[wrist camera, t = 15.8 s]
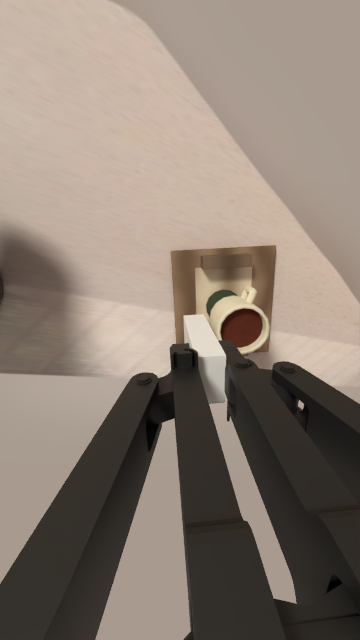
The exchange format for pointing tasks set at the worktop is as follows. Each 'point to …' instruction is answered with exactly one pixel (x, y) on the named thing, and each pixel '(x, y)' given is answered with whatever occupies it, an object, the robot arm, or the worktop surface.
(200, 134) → the worktop surface
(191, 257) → the seating jig
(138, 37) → the worktop surface
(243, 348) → the character mug
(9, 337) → the worktop surface
